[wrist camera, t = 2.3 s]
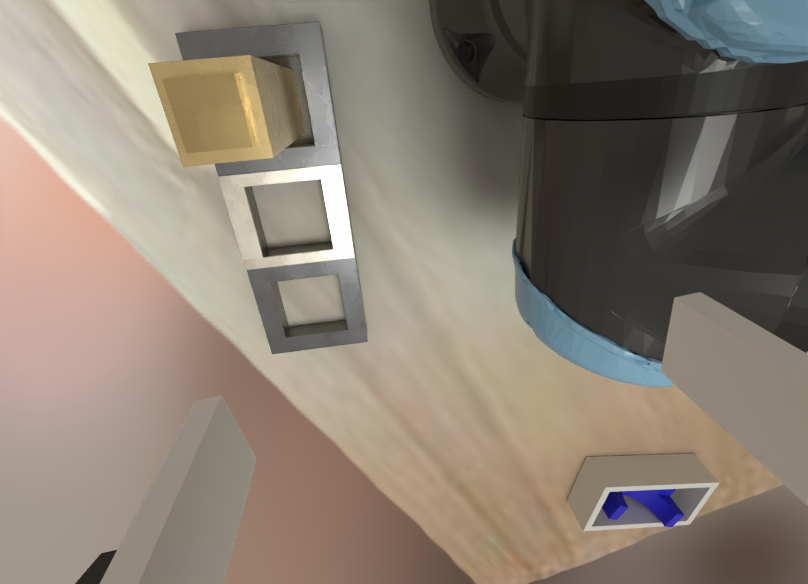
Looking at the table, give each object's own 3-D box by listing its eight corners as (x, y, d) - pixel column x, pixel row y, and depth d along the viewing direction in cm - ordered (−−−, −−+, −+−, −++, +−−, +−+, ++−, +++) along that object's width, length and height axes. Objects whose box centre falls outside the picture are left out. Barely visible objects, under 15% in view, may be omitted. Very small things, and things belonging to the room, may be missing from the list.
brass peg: (233, 75, 30) (139, 62, 17) (293, 70, 30) (245, 53, 17) (249, 137, 32) (177, 169, 19) (304, 132, 32) (270, 160, 19)
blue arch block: (662, 472, 61) (691, 508, 56) (645, 490, 63) (672, 527, 58) (601, 462, 58) (626, 499, 53) (586, 481, 60) (608, 519, 55)
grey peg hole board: (186, 36, 28) (174, 32, 26) (321, 26, 29) (318, 21, 27) (275, 343, 42) (271, 355, 40) (367, 331, 42) (367, 342, 40)
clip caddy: (586, 456, 57) (605, 487, 52) (692, 453, 59) (719, 482, 55) (566, 499, 61) (583, 531, 57) (666, 494, 64) (689, 524, 59)
